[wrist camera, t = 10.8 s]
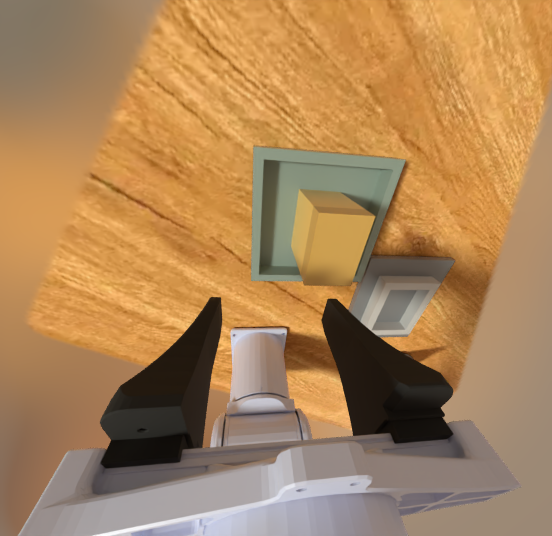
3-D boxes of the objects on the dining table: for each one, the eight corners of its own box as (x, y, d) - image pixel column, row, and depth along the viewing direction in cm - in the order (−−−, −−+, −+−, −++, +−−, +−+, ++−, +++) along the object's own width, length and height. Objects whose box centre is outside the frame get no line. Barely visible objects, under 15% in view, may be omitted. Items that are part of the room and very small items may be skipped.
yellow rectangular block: (326, 247, 23) (350, 286, 17) (291, 246, 23) (304, 285, 17) (339, 191, 20) (375, 216, 14) (299, 188, 20) (319, 212, 14)
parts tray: (353, 271, 26) (360, 281, 24) (251, 269, 24) (251, 280, 23) (391, 157, 19) (406, 159, 17) (253, 145, 18) (253, 146, 16)
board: (404, 332, 34) (413, 344, 32) (339, 334, 32) (345, 346, 30) (450, 257, 26) (466, 267, 24) (368, 255, 25) (377, 265, 23)
